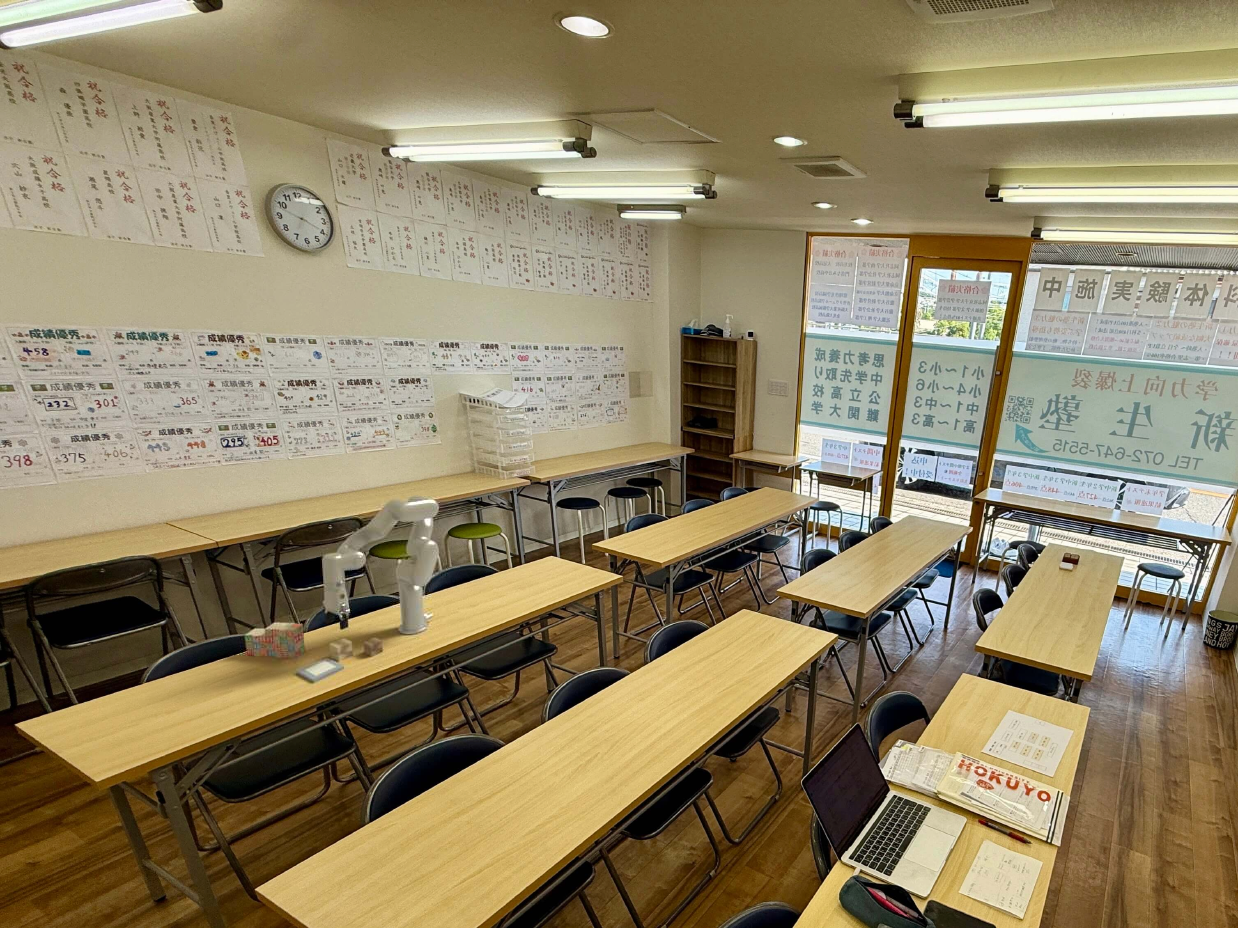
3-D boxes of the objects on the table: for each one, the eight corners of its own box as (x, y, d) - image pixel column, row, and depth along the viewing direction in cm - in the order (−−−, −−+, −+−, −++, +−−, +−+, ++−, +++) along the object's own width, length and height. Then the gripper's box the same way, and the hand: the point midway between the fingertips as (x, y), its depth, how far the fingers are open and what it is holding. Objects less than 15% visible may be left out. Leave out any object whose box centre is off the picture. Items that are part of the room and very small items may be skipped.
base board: (327, 660, 232) (326, 657, 232) (344, 668, 225) (344, 665, 225) (296, 673, 222) (296, 670, 222) (313, 682, 215) (313, 679, 215)
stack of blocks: (246, 656, 236) (243, 627, 234) (257, 648, 242) (254, 621, 240) (295, 658, 234) (292, 630, 231) (305, 651, 240) (302, 623, 238)
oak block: (344, 651, 239) (343, 638, 238) (353, 655, 236) (351, 641, 235) (330, 657, 234) (329, 643, 233) (339, 661, 231) (337, 647, 230)
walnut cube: (375, 648, 241) (374, 637, 240) (382, 651, 238) (381, 640, 238) (364, 653, 237) (363, 642, 236) (371, 656, 234) (370, 645, 233)
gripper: (356, 586, 228) (358, 627, 230) (331, 577, 237) (334, 617, 240) (337, 592, 222) (340, 634, 224) (313, 582, 231) (316, 623, 234)
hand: (337, 625), depth 232 cm, fingers open, 9 cm apart
